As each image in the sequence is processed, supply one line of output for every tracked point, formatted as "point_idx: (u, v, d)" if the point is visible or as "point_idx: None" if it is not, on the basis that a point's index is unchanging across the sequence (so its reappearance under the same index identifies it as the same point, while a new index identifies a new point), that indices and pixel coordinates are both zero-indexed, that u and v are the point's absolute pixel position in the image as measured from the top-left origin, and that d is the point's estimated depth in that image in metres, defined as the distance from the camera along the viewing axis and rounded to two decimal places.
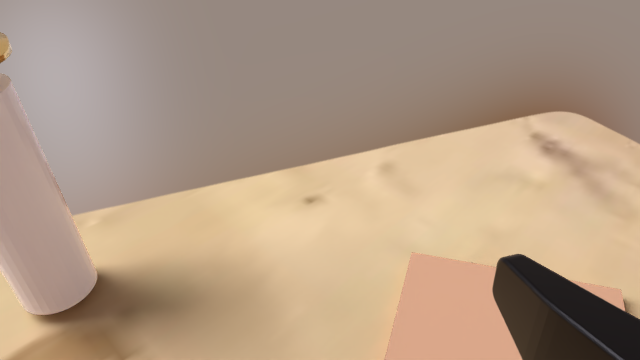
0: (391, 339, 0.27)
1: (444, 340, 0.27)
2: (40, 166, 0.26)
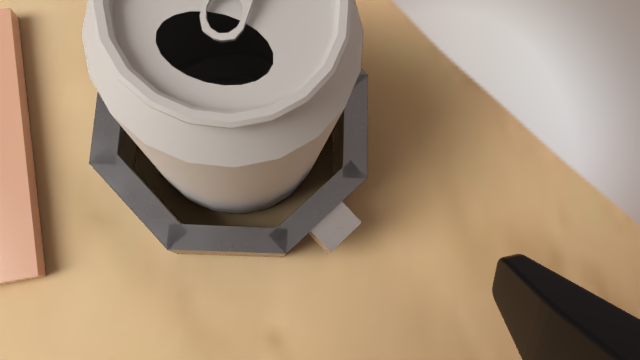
0: None
1: None
2: None
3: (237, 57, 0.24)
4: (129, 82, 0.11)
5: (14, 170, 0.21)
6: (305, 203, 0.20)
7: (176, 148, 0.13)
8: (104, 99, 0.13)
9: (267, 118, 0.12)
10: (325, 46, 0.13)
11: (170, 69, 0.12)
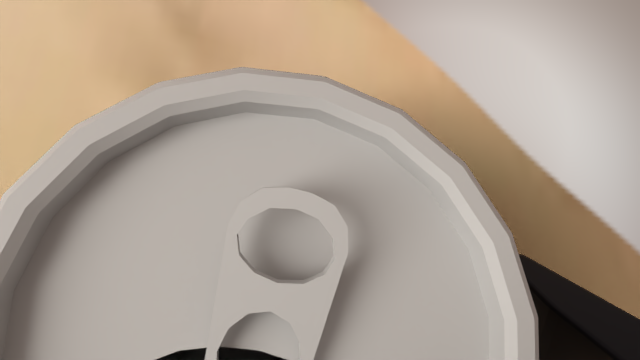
0: None
1: None
2: None
3: None
4: None
5: None
6: None
7: None
8: None
9: None
10: None
11: None
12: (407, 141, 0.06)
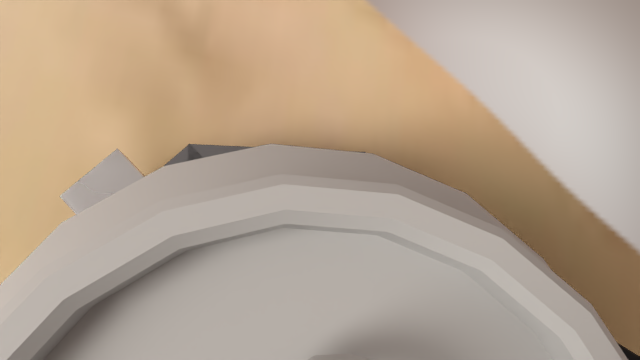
0: None
1: None
2: None
3: None
4: None
5: None
6: None
7: None
8: None
9: None
10: None
11: None
12: (513, 278, 0.04)
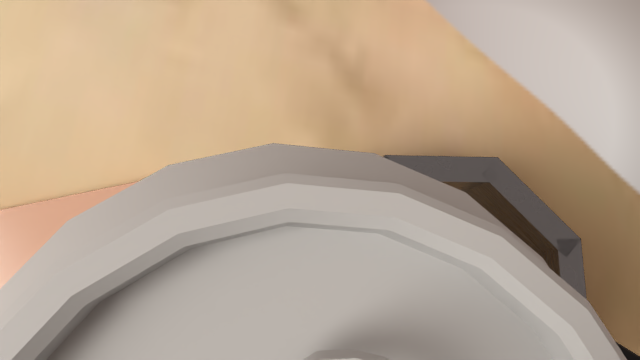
0: None
1: None
2: None
3: None
4: None
5: None
6: None
7: None
8: None
9: None
10: None
11: None
12: (512, 275, 0.04)
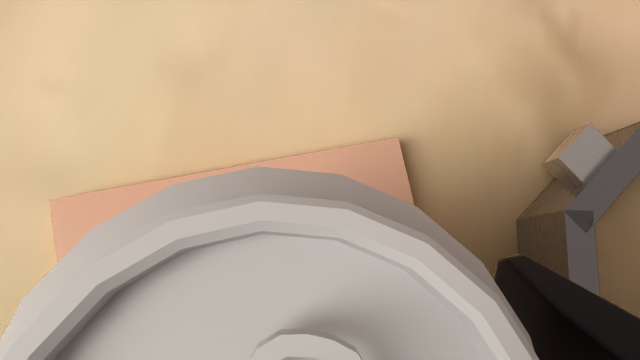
0: None
1: None
2: None
3: None
4: None
5: None
6: None
7: None
8: None
9: None
10: None
11: None
12: (435, 274, 0.05)
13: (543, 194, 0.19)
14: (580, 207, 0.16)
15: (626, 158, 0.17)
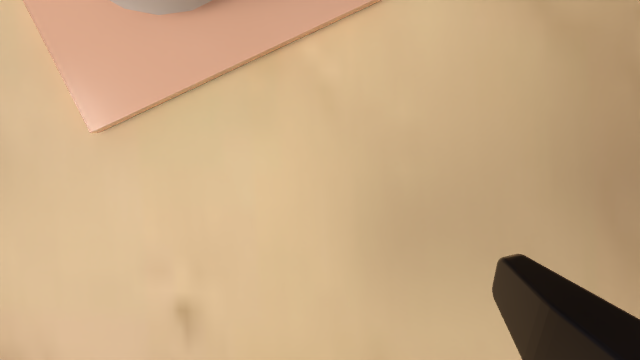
0: (25, 1, 0.18)
1: None
2: None
3: None
4: None
5: None
6: None
7: None
8: None
9: None
10: None
11: None
12: None
13: None
14: None
15: None
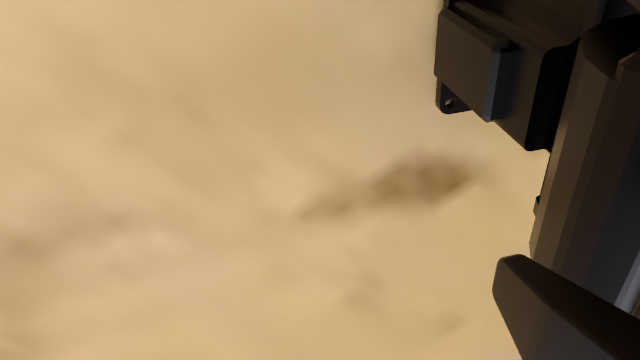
0: None
1: None
2: None
3: None
4: None
5: None
6: None
7: None
8: None
9: None
10: None
11: None
12: None
13: None
14: None
15: None
